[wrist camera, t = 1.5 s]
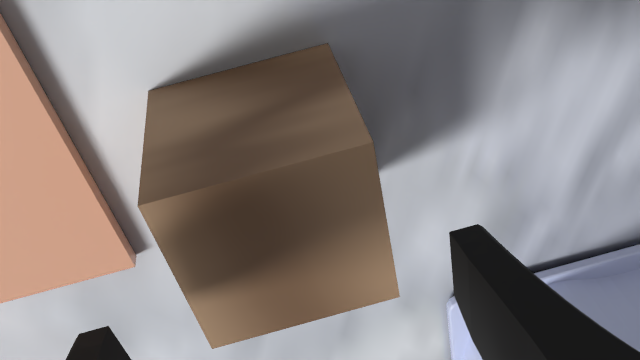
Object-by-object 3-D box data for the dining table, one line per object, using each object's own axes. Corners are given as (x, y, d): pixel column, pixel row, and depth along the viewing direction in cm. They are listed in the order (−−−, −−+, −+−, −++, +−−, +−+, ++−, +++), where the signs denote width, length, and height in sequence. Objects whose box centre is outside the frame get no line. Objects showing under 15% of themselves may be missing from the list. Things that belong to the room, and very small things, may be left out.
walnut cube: (326, 41, 16) (373, 142, 12) (355, 181, 19) (399, 296, 15) (148, 89, 16) (137, 205, 12) (206, 222, 19) (212, 348, 15)
